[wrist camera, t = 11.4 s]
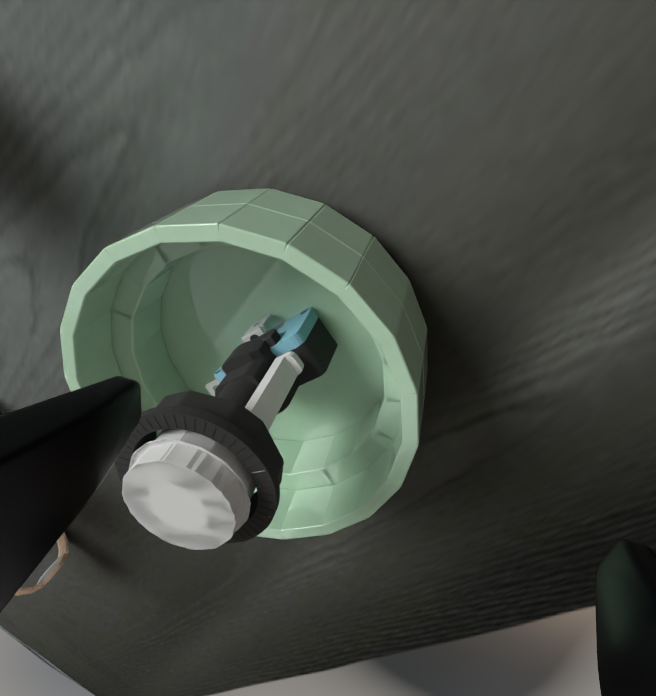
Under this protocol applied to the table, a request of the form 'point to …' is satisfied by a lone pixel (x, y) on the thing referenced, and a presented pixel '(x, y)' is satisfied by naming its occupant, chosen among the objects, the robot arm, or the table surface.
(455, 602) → the table surface
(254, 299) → the bowl
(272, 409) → the push button
